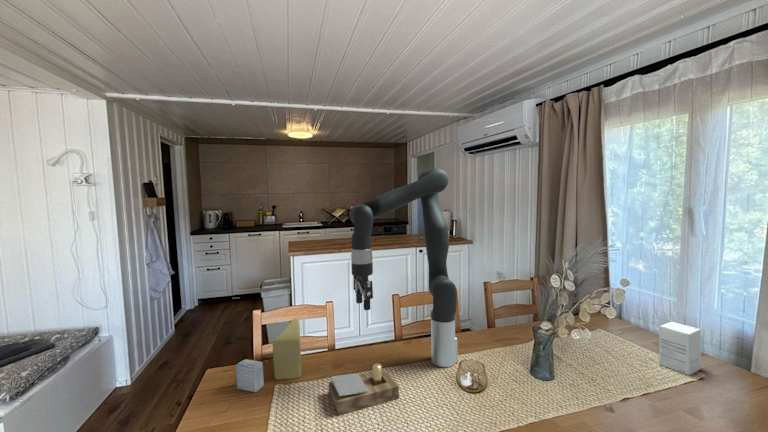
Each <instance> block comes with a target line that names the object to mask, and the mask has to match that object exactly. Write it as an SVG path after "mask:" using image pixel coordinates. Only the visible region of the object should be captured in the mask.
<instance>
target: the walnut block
mask: <svg viewBox="0 0 768 432" xmlns="http://www.w3.org/2000/svg"><path fill="white" fill-rule="evenodd" d="M358 375H359V376H360V378H361V379H362V381H363V382H364V384H365V385H366V387H367V389H368V391H367V392H365V393H358V394H351V395H344V396H339V395H338V392H337V390H336V388H335V386H334V384H333V382H332V380H331V381H328V395H329V398H330V400H331V402H332V404H333V407H334V410H335V412H336V414H337V416H342V415H345V414H346V415H347V414H349V413H352V412H356V411H360V410H363V409H365V408H366V409H367V408H370V407H374V406H376V405H380V404H384V403H388V402H390V401H394V400H398V399H400V387H399V384H397V382H396V381H395V379H393V377H392V376H391V374H389V372H388V371H387V370H386V368H382V384H379V385H376V386H373V370H372V371H369V372H364V373H359V374H358Z"/></svg>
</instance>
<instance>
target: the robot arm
mask: <svg viewBox="0 0 768 432" xmlns="http://www.w3.org/2000/svg"><path fill="white" fill-rule="evenodd" d="M448 184H449V176H448V174H447V173H446V171H444V170H443V169H440V168H432V169H429V170H424V171H423V172H421V173H420V175H419V177H418V179H417V180H415V181H413V182H411V183H409V184H405V185H403V186H400V187H397V188H394V189H392V190H389V191H386V192H384V193H383V194H380V195H378V196H376V197H374V198H372V199H369V200H367V201H363V202H361V203H359V204H356V205H353V206H352V208H351V209H350V210H349V213H348V217H349V220H350V221H351V223H352V224H353V233H352V235H351V255H350V257H351V258H350V259H351V262H350V263H351V275H352V276H353V290H354V293H355V301H356V304H362V303H363V310H364V311H370V310H371V299H373V298H374V291H373V290H374V289H373V281H372V280H370V279H369V276H371V275H373V273H374V271H373V270H374V267H373V265H374V264H373V250H372V232H373V226H374V225H373V224H374V218H376V217H379V216H384V215H386V214H390V213H391V212H393V211H395V210H397V209H400V208H401V207H404V206H405V205H407V204H410V203H411V202H414V201H416V200H418V199H420V202H421V208H422V217H423V218H422V220H423V230H424V231H423V232H424V240H425V242H424V243H425V249H426V257H427V263H428V291H429V294H430V295H431V297H432V306H433V307H432V310H431V311H430V326H431V327H430V335H431V337H430V339H431V341H430V342H431V343H430V344H431V346H430V347H431V350H430V351H431V363H432V364H433V365H435V366H436V367H441V368H449V367H453V366H454V365H456V364H457V363H458V361H459V359H458V358H459V357H458V355H459V353H458V338H457V337H456V314H457V304H458V303H457V302H458V300H457V299H458V298H457V297H458V296H457V295H458V292H457V287H456V284H455V283H454V282H453V281H452V280H450V278H449V274H448V267H447V258H448V254H449V249H450V248H449V247H450V236H449V235H450V234H449V227H448V223H447V220H446V218H445V216H444V214H443V211H442V209H441V206H440V203H439V202H440V201H439V193H441V192H443V191H444V190H445V189H446V188H447V186H448Z"/></svg>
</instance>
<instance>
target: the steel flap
mask: <svg viewBox="0 0 768 432" xmlns="http://www.w3.org/2000/svg"><path fill="white" fill-rule="evenodd" d="M359 375H360V374H359V373H358V372H357V373H350V374H349V373H347V374H341V375H340V374H339V375H334V376H333V375H332V376H331V381H332V382H333V384H334V386H335V388H336V390H337V392H338V395H339V396H344V395H351V394H358V393H365V392H367V391H368V389H367V387H366V385H365V384H364V382H363V381H362V379H361V378H360V376H359Z"/></svg>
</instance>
